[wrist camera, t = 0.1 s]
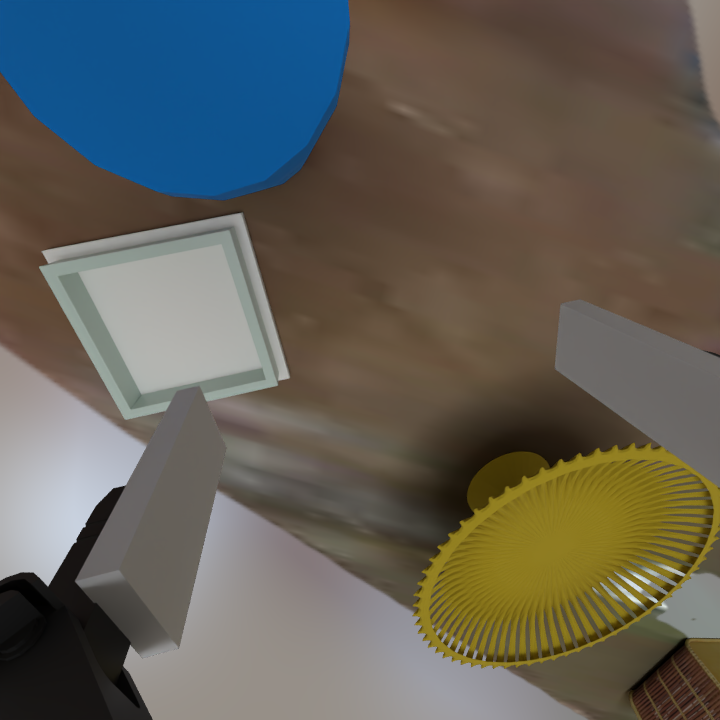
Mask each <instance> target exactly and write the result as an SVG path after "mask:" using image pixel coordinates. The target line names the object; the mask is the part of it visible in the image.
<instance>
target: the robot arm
mask: <svg viewBox="0 0 720 720" xmlns="http://www.w3.org/2000/svg"><path fill="white" fill-rule="evenodd" d="M555 369H556V370H557V371H558V372H560V373H561V374H563V375H564V376H565V377H567V378H568V379H569V380H571V381H572V382H574V383H575V384H576V385H578V386H579V387H581V388H582V389H583V390H585V391H586V392H588V393H589V394H590V395H592V396H593V397H594V398H596V399H597V400H599V401H600V402H601V403H603V404H604V405H606V406H607V407H608V408H610V409H611V410H612V411H614V412H615V413H617V414H618V415H619V416H621V417H622V418H624V419H625V420H626V421H628V422H629V423H631V424H632V425H633V426H635V427H636V428H637V429H639V430H640V431H642V432H643V433H644V434H646V435H647V436H649V437H650V438H651V439H653V440H654V441H655V442H657V443H658V444H660V445H661V446H662V447H664V448H665V449H667V450H668V451H669V452H671V453H672V454H674V455H675V456H676V457H678V458H679V459H680V460H682V461H683V462H685V463H686V464H687V465H689V466H690V467H692V468H693V469H694V470H696V471H697V472H698V473H700V474H701V475H703V476H704V477H705V478H707V479H708V480H710V481H711V482H712V483H714V484H715V485H717V486H718V487H719V488H720V355H718V354H715V353H712V352H708V351H704V350H700V349H698V348H695V347H693V346H690V345H688V344H686V343H683V342H681V341H678V340H676V339H674V338H671V337H669V336H667V335H664V334H662V333H659V332H657V331H655V330H652V329H650V328H647V327H645V326H643V325H640V324H638V323H635V322H633V321H631V320H628V319H626V318H623V317H621V316H619V315H616V314H614V313H611V312H609V311H607V310H604V309H602V308H600V307H597V306H595V305H592V304H590V303H588V302H585V301H583V300H575V301H571V302H567V303H562V304H561V306H560V317H559V328H558V339H557V349H556V360H555ZM225 452H226V445H225V443H224V441H223V438H222V436H221V434H220V431H219V429H218V427H217V425H216V422H215V420H214V418H213V415H212V413H211V411H210V408H209V406H208V404H207V402H206V399H205V397H204V395H203V392H202V390H201V388H200V386H196V387H191V388H187V389H182V390H178V391H176V393H175V395H174V397H173V399H172V401H171V402H170V404H169V406H168V408H167V410H166V412H165V414H164V416H163V417H162V419H161V421H160V423H159V425H158V427H157V429H156V430H155V432H154V434H153V436H152V438H151V440H150V442H149V444H148V445H147V447H146V449H145V451H144V453H143V455H142V457H141V459H140V461H139V462H138V464H137V466H136V468H135V470H134V472H133V474H132V475H131V477H130V479H129V481H128V483H127V485H126V486H122V487H118V488H113V489H112V490H111V491H110V492H109V493H108V494H107V496H106V497H104V498H103V499H102V501H100V502H99V503H98V505H97V506H96V507H95V509H94V510H93V512H92V514H91V515H90V517H89V519H88V521H87V522H86V527H84V528H83V529H82V531H81V532H80V534H79V536H78V537H77V542H76V543H74V544H73V546H72V547H71V549H70V551H69V552H68V554H67V556H66V558H65V559H64V561H63V563H62V564H61V566H60V568H59V569H58V571H57V573H56V574H55V576H54V578H53V580H52V581H51V583H50V585H49V586H47V585H46V584H45V583H44V582H43V581H42V580H41V579H40V578H39V577H37V575H35V574H34V573H24V572H23V573H19V574H16V575H13V576H10V577H7V578H5V579H3V580H1V581H0V720H152V717H151V715H150V713H149V712H148V709H147V707H146V705H145V703H144V701H143V700H142V697H141V695H140V693H139V691H138V690H137V687H136V685H135V684H134V681H133V679H132V678H131V676H130V674H129V672H128V671H127V670H126V669H125V668H124V667H123V664H124V661H125V658H126V655H127V652H128V649H129V647H130V645H131V646H132V647H133V648H134V649H135V651H136V652H137V653H138V654H139V655H140V656H141V657H142V658H146V657H150V656H154V655H157V654H160V653H164V652H168V651H171V650H175V649H179V646H180V642H181V638H182V633H183V629H184V625H185V621H186V617H187V612H188V608H189V604H190V600H191V595H192V591H193V587H194V583H195V579H196V574H197V570H198V565H199V562H200V557H201V553H202V549H203V545H204V541H205V536H206V532H207V528H208V524H209V519H210V515H211V511H212V507H213V502H214V498H215V494H216V490H217V486H218V482H219V477H220V473H221V469H222V465H223V460H224V456H225Z"/></svg>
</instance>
